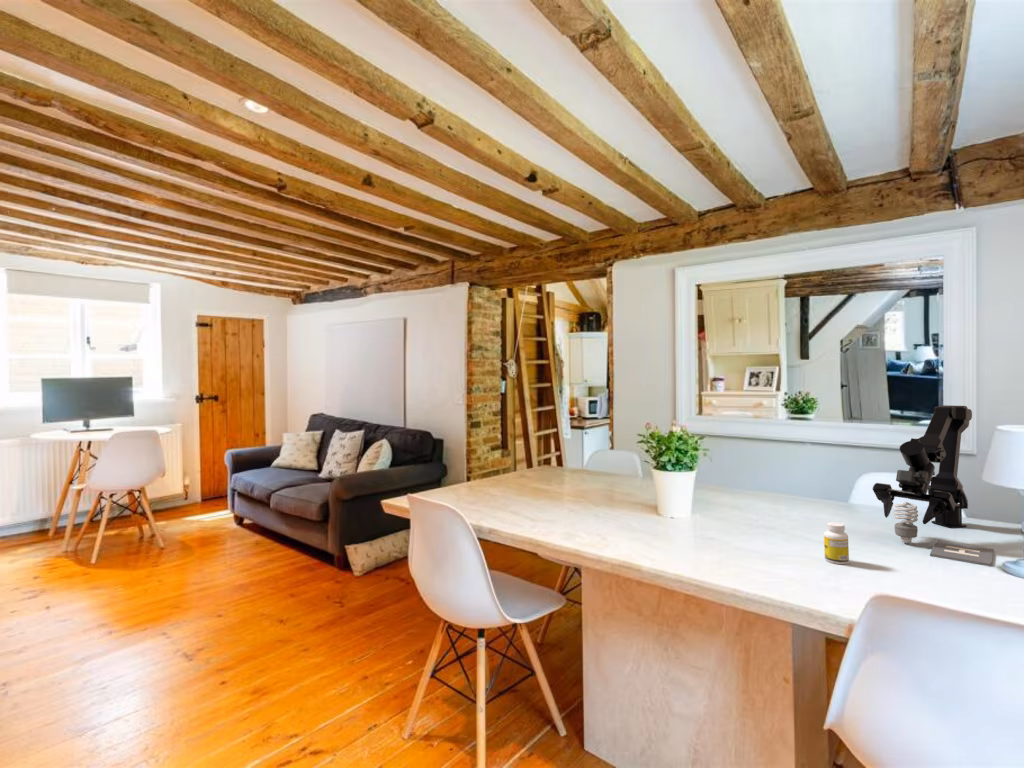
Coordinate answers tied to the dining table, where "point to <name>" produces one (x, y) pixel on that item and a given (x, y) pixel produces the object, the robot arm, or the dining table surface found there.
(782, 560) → the dining table surface
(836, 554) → the supplement bottle
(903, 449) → the robot arm
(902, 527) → the light bulb
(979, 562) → the board
